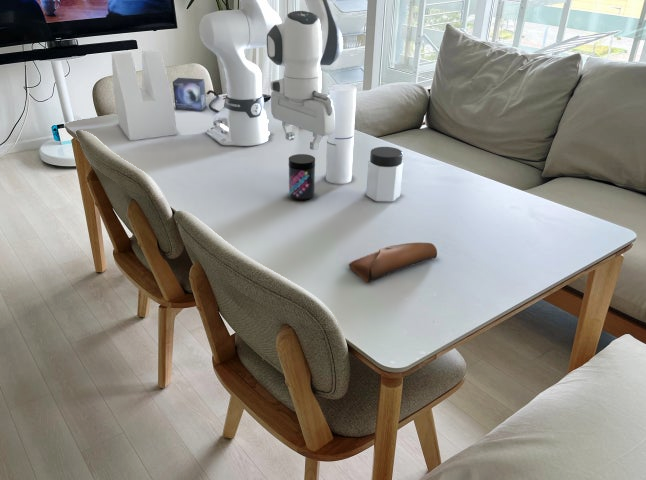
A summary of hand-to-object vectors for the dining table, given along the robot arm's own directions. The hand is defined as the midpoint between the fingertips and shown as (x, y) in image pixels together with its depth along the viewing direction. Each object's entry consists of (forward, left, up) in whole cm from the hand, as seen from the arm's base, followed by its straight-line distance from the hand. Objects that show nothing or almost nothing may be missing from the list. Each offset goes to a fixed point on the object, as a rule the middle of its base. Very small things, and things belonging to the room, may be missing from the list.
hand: (301, 144), depth 146 cm
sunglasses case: (+39, -8, -14) cm, 42 cm away
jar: (+13, +17, -14) cm, 26 cm away
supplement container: (0, 0, -14) cm, 14 cm away
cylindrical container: (-3, +16, -14) cm, 22 cm away
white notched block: (-77, -4, -14) cm, 78 cm away
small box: (-90, +21, -14) cm, 94 cm away
